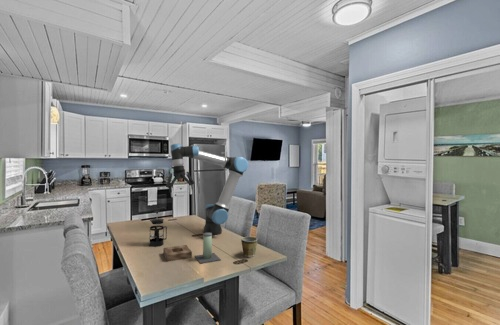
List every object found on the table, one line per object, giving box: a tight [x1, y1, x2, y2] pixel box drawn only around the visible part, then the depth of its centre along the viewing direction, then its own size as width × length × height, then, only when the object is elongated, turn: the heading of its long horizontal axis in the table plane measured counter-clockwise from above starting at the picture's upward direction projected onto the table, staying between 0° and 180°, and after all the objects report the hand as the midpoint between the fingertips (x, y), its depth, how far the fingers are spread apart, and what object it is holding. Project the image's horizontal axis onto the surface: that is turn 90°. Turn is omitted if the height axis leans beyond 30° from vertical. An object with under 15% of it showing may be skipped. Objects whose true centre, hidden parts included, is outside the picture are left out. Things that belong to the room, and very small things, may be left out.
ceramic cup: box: [240, 236, 258, 258], centre depth 156 cm, size 13×10×10 cm
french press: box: [148, 210, 168, 248], centre depth 172 cm, size 12×9×23 cm
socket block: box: [163, 244, 193, 262], centre depth 152 cm, size 14×14×4 cm
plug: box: [202, 233, 213, 259], centre depth 148 cm, size 5×5×14 cm
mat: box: [194, 252, 222, 265], centre depth 148 cm, size 12×12×1 cm
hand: (181, 195), depth 177 cm, fingers open, 13 cm apart
